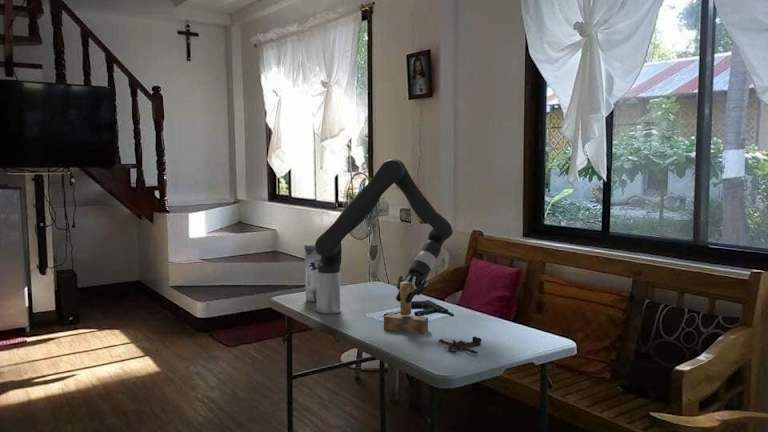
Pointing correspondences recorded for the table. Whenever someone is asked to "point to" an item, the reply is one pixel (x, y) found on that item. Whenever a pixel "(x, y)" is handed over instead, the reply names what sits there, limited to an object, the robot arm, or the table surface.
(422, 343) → the table surface
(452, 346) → the brown toy figure
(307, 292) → the juice carton
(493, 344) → the table surface
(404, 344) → the table surface
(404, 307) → the oak post
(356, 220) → the robot arm
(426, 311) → the gun
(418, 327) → the walnut rail
